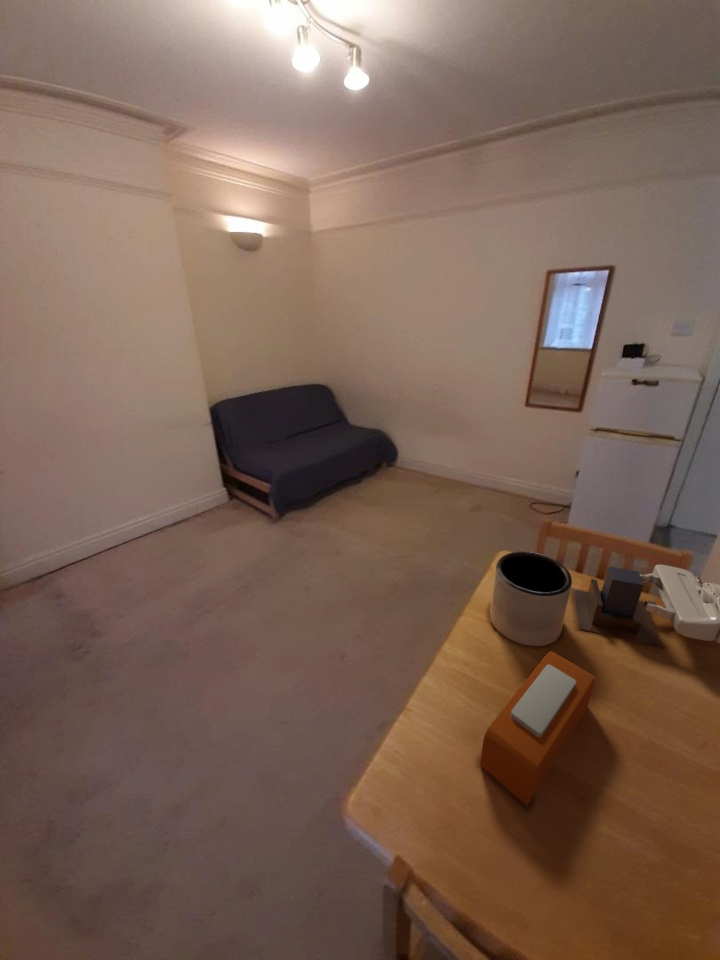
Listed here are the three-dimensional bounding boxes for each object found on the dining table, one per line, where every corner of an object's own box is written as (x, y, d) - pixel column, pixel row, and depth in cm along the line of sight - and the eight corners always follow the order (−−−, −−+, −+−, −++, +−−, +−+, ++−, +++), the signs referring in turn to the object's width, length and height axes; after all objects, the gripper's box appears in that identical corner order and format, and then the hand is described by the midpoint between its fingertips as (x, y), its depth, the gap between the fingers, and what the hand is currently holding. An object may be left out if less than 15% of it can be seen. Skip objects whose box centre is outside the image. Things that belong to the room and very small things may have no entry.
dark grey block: (625, 610, 97) (638, 571, 92) (630, 625, 93) (643, 584, 88) (597, 605, 99) (608, 566, 94) (600, 620, 95) (612, 579, 90)
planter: (477, 626, 97) (483, 574, 90) (506, 591, 107) (513, 542, 100) (546, 662, 87) (558, 607, 80) (570, 619, 97) (582, 568, 90)
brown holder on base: (643, 607, 100) (651, 583, 97) (659, 650, 88) (669, 625, 85) (572, 594, 105) (577, 570, 102) (578, 633, 93) (584, 608, 90)
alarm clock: (544, 682, 82) (553, 641, 78) (587, 710, 77) (599, 668, 72) (478, 769, 68) (484, 727, 63) (525, 811, 62) (535, 768, 58)
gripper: (701, 564, 94) (633, 553, 99) (741, 627, 77) (656, 611, 82) (693, 585, 97) (627, 574, 101) (729, 651, 80) (647, 634, 84)
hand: (640, 591), depth 91 cm, fingers open, 8 cm apart
